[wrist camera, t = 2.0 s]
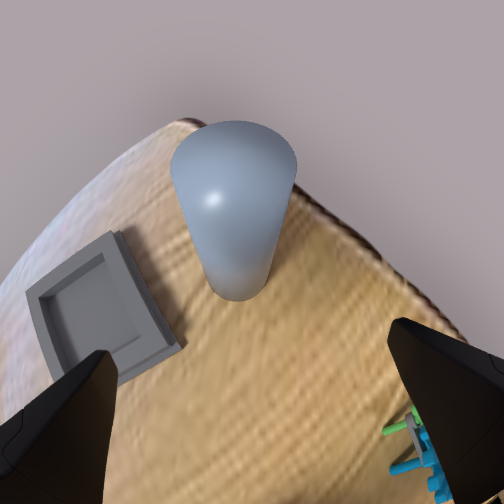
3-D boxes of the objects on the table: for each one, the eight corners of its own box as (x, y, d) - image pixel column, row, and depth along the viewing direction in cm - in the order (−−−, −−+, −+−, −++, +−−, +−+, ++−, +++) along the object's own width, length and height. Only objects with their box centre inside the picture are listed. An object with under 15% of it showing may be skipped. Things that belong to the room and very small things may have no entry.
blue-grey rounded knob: (280, 279, 22) (322, 175, 10) (228, 313, 21) (209, 239, 9) (245, 233, 23) (250, 108, 12) (195, 263, 22) (152, 151, 10)
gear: (466, 457, 13) (457, 519, 6) (416, 477, 16) (387, 537, 9) (437, 375, 18) (426, 418, 11) (385, 401, 21) (347, 446, 14)
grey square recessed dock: (183, 349, 19) (177, 347, 18) (75, 409, 16) (63, 411, 14) (121, 233, 23) (113, 222, 21) (33, 295, 20) (21, 289, 18)
